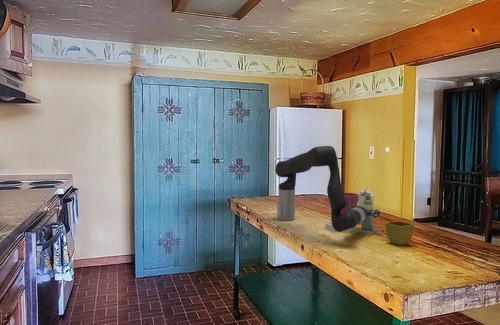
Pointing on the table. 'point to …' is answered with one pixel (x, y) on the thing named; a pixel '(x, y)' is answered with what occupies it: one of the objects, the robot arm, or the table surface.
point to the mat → (368, 231)
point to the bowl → (330, 227)
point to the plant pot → (350, 201)
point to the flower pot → (399, 232)
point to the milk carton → (362, 197)
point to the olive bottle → (367, 204)
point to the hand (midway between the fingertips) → (368, 210)
